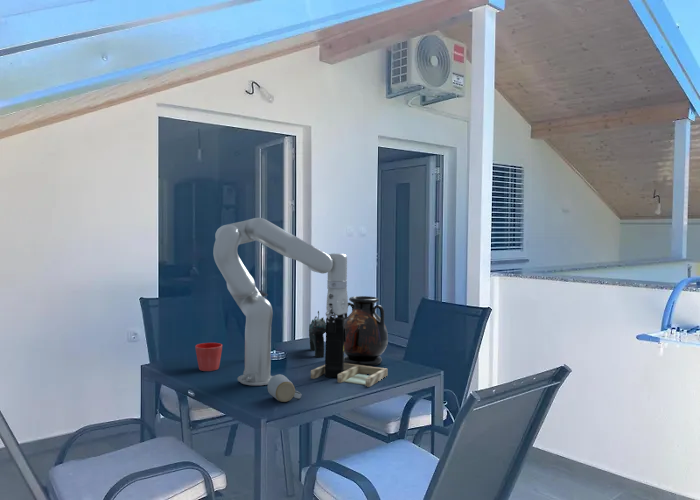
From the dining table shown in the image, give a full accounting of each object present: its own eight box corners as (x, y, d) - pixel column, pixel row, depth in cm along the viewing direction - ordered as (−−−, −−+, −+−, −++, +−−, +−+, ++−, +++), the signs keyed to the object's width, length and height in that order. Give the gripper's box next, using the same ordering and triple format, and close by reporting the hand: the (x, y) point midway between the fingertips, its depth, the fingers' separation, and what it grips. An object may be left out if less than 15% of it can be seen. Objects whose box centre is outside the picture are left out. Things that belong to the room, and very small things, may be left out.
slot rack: (369, 386, 207) (369, 378, 207) (310, 378, 218) (310, 370, 218) (387, 376, 223) (387, 368, 223) (332, 368, 234) (332, 361, 234)
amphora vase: (395, 360, 251) (396, 297, 250) (374, 370, 231) (376, 302, 230) (351, 354, 260) (353, 293, 259) (328, 364, 241) (329, 298, 240)
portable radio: (346, 374, 225) (347, 311, 225) (344, 377, 219) (345, 312, 219) (326, 373, 226) (327, 310, 225) (324, 376, 220) (325, 312, 219)
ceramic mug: (275, 404, 185) (276, 381, 184) (266, 397, 192) (267, 375, 192) (305, 401, 190) (306, 378, 190) (295, 394, 197) (296, 372, 197)
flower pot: (189, 370, 226) (189, 346, 226) (204, 364, 236) (204, 341, 236) (213, 373, 223) (213, 348, 222) (227, 367, 233) (227, 343, 233)
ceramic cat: (326, 358, 253) (327, 313, 252) (312, 358, 251) (313, 313, 251) (319, 348, 272) (319, 307, 271) (305, 349, 271) (306, 307, 270)
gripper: (335, 287, 212) (334, 335, 212) (355, 284, 227) (354, 328, 228) (317, 286, 215) (316, 333, 216) (338, 283, 231) (337, 327, 231)
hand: (336, 330), depth 222 cm, fingers closed on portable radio, 6 cm apart
